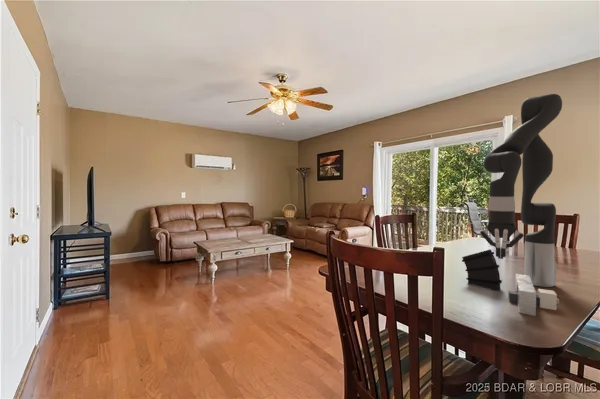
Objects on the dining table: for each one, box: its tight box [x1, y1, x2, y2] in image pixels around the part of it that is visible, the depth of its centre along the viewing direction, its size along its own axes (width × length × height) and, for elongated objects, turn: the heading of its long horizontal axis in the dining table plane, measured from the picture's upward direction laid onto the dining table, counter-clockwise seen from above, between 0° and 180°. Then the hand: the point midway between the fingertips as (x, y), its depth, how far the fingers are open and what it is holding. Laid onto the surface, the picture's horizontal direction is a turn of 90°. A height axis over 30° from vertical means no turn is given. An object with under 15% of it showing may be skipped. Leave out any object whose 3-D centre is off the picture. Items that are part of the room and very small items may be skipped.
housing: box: [514, 273, 537, 317], centre depth 94 cm, size 4×22×7 cm, turn 144°
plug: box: [507, 288, 560, 311], centre depth 93 cm, size 13×4×5 cm, turn 58°
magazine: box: [461, 249, 503, 292], centre depth 111 cm, size 4×13×15 cm, turn 33°
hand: (500, 258), depth 98 cm, fingers closed
